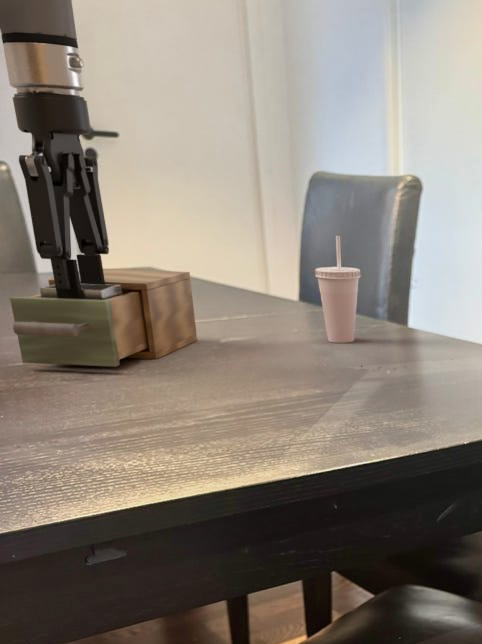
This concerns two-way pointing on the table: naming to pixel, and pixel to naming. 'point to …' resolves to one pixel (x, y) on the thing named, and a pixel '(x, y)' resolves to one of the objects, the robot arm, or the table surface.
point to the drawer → (80, 329)
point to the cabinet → (160, 307)
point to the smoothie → (339, 299)
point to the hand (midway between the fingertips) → (85, 314)
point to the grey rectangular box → (87, 291)
